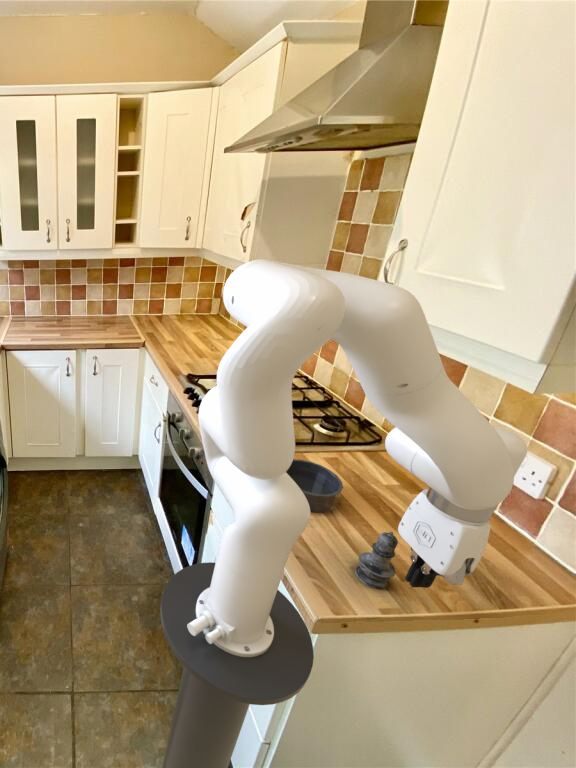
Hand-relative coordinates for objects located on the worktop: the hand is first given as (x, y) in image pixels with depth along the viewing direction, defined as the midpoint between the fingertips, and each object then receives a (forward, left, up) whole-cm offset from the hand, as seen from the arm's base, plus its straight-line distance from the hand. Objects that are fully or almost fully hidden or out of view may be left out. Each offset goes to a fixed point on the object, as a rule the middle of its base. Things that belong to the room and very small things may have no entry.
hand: (416, 583), depth 71 cm
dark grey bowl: (+16, +28, -8) cm, 33 cm away
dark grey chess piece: (+3, +7, -8) cm, 11 cm away
